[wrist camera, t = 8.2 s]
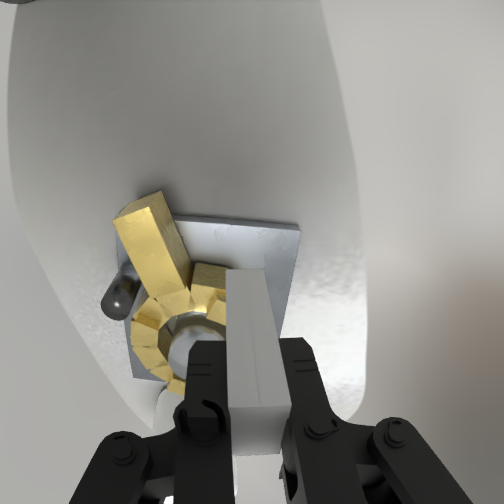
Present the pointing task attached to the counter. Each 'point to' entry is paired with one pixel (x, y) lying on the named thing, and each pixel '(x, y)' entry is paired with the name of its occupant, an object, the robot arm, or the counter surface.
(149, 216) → the segmented ring with handle
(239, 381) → the robot arm
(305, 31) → the counter surface
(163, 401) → the beverage can
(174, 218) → the plate
